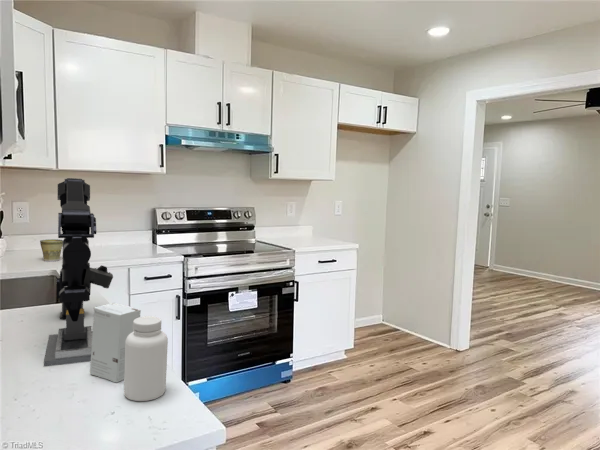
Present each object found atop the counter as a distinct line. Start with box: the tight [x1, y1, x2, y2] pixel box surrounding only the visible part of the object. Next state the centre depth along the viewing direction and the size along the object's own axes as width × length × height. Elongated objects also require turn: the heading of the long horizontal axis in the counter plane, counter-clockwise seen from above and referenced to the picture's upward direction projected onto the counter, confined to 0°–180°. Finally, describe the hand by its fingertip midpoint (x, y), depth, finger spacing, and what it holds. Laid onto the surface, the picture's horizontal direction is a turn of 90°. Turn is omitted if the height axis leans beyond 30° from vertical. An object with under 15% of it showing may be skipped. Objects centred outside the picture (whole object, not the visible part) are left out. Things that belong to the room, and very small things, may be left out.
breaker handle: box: [64, 308, 86, 340], centre depth 112 cm, size 4×5×7 cm
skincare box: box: [89, 302, 142, 383], centre depth 95 cm, size 8×6×15 cm
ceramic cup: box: [39, 238, 64, 263], centre depth 217 cm, size 13×10×10 cm
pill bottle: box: [123, 315, 169, 402], centre depth 87 cm, size 8×8×15 cm
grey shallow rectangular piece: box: [43, 325, 93, 368], centre depth 108 cm, size 18×12×3 cm, turn 26°
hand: (75, 321), depth 109 cm, fingers closed
